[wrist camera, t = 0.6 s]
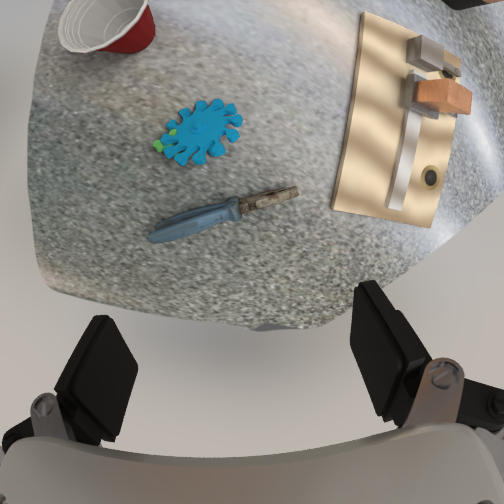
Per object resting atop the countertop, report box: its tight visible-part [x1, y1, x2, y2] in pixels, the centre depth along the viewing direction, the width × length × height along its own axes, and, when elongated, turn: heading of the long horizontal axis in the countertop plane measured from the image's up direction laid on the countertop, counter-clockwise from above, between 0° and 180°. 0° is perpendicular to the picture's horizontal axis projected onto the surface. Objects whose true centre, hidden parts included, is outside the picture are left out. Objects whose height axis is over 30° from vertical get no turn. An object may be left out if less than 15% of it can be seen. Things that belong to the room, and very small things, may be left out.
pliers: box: [147, 186, 299, 244], centre depth 36 cm, size 20×2×6 cm, turn 106°
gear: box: [153, 99, 243, 166], centre depth 32 cm, size 11×6×10 cm
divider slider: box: [403, 73, 472, 120], centre depth 25 cm, size 5×10×10 cm, turn 82°
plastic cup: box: [58, 0, 155, 54], centre depth 21 cm, size 11×11×12 cm
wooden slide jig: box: [330, 11, 461, 228], centre depth 30 cm, size 30×18×6 cm, turn 172°
